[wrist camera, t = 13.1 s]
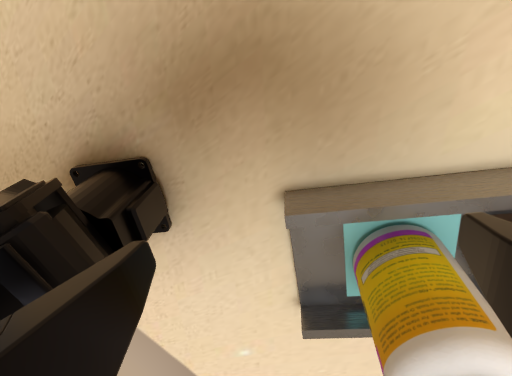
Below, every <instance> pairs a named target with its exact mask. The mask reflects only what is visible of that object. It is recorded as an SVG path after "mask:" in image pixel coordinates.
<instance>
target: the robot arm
mask: <svg viewBox="0 0 512 376" xmlns="http://www.w3.org/2000/svg"><path fill="white" fill-rule="evenodd" d="M140 162H142V163H144V166H142V165H141V164H140ZM76 171H77V172H78V173H79V174H77V172H76ZM70 175H71V177H72V179H73V181H74V183H75V185H76V187H75V188H73V189H72V190H70V191H69V192H67V193H66V192H65V191H64V190H63V188H62V187H61V186H62V184H61V183H60V182H59V180H58V179H57V178H54V179H52V180H50V181H48V182H46V183H45V181H44V180H43V181H41V182H39V183H34V182H31V181H29V180H26V179H23V180H21V181H19V182H17V183H16V184H14V185H12V186H10V187H8V188H6V189H4V190H2V191H0V376H117V374H118V371H119V369H120V367H121V364H122V362H123V359H124V357H125V354H126V352H127V349H128V347H129V345H130V342H131V340H132V337H133V335H134V332H135V330H136V328H137V325H138V323H139V320H140V318H141V315H142V312H143V309H144V306H145V303H146V299H147V296H148V293H149V289H150V286H151V283H152V279H153V276H154V272H155V269H156V261H155V258H154V256H153V253H152V251H151V248H150V246H149V244H148V242H147V241H148V239H149V238H150V236H151V235H152V233H158V232H167V231H168V230H169V229H170V228H171V222H170V219H169V216H168V213H167V212H168V209H167V206H166V203H165V200H164V197H163V194H162V192H161V189H160V186H159V184H158V183H157V182H156V179H155V176H154V173H153V171H152V168H151V165H150V162H149V160H148V159H146V158H144V157H139V158H132V159H124V160H117V161H110V162H102V163H95V164H88V165H80V166H75V167H73V168H72V169H71V170H70ZM163 224H164V225H166V226H167V227H165V226H163ZM458 243H459V247H460V249H461V251H462V253H463V255H464V257H465V259H466V261H467V263H468V265H469V267H470V269H471V271H472V273H473V275H474V277H475V279H476V281H477V283H478V285H479V287H480V289H481V291H482V293H483V295H484V296H485V298H486V300H487V301H488V303H489V305H490V306H491V308H492V309H493V311H494V313H495V314H496V316H497V317H498V319H499V320H500V322H501V323H502V325H503V326H504V328H505V329H506V331H507V332H508V334H509V335H510V337H511V338H512V223H511V222H508V221H506V220H503V219H500V218H497V217H495V216H492V215H489V214H486V213H483V212H474V213H465V214H464V215H463V216H462V218H461V224H460V230H459V237H458Z"/></svg>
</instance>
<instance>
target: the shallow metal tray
mask: <svg viewBox="0 0 512 376" xmlns="http://www.w3.org/2000/svg"><path fill="white" fill-rule="evenodd" d="M474 212H483V213H486V214H489V215H497V214H508V213H512V168H502V169H493V170H483V171H474V172H465V173H455V174H446V175H436V176H427V177H418V178H408V179H399V180H389V181H380V182H371V183H361V184H352V185H342V186H333V187H323V188H314V189H305V190H295V191H286V192H285V222H286V229H290V235H291V242H292V249H293V256H294V263H295V270H296V277H297V283H298V290H299V297H300V304H301V322H302V335H303V339H320V338H362V337H372V333H371V330H370V327H369V323H368V320H367V316H366V312H365V309H364V306H363V302H362V299H361V295H360V292H359V288H358V285H357V281H356V278H355V274H354V270H353V258H354V254H355V252H356V250H357V248H358V246H359V245H360V244H361V242H362V241H363V240H364V239H365V238H366V237H368V236H369V235H370V234H372V233H374V232H375V231H377V230H380V229H382V228H385V227H388V226H393V225H414V226H418V227H422V228H424V229H426V230H428V231H430V232H432V233H433V234H435V235H436V236H437V237H438V238H439V239H440V240H441V241H442V243H443V244H444V245H445V247H446V248H447V249H448V251H449V252H450V253H451V254H452V256H453V257H454V258H455V260H456V261H457V262H458V264H459V265H460V266H461V268H462V269H463V270H464V272H465V273H466V274H467V276H468V277H469V278H470V280H471V281H472V282H473V284H474V285H475V286H476V288H477V289H478V290H479V292H480V293H481V294H482V296H483V297H484V298H485V296H484V295H483V293H482V291H481V289H480V287H479V285H478V283H477V281H476V279H475V277H474V275H473V273H472V271H471V269H470V267H469V265H468V263H467V261H466V259H465V257H464V255H463V253H462V251H461V249H460V247H459V243H458V237H459V230H460V224H461V218H462V216H463V215H464V214H465V213H474ZM485 300H486V298H485ZM486 301H487V300H486ZM487 302H488V301H487ZM488 304H489V303H488ZM490 307H491V306H490Z"/></svg>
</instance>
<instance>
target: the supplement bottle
mask: <svg viewBox="0 0 512 376" xmlns="http://www.w3.org/2000/svg"><path fill="white" fill-rule="evenodd" d="M353 270H354V274H355V278H356V281H357V285H358V288H359V292H360V295H361V299H362V302H363V306H364V309H365V312H366V316H367V320H368V323H369V327H370V330H371V333H372V337H373V340H374V344H375V347H376V351H377V354H378V358H379V361H380V365H381V369H382V372H383V376H512V338H511V337H510V335H509V334H508V332H507V331H506V329H505V328H504V326H503V325H502V323H501V322H500V320H499V319H498V317H497V316H496V314H495V313H494V311H493V309H492V308H491V307H490V305H489V304H488V302H487V301H486V300H485V298H484V297H483V296H482V294H481V293H480V292H479V290H478V289H477V288H476V286H475V285H474V284H473V282H472V281H471V280H470V278H469V277H468V276H467V274H466V273H465V272H464V270H463V269H462V268H461V266H460V265H459V264H458V262H457V261H456V260H455V258H454V257H453V256H452V254H451V253H450V252H449V251H448V249H447V248H446V247H445V245H444V244H443V243H442V241H441V240H440V239H439V238H438V237H437V236H436V235H435V234H433V233H432V232H430V231H428V230H426V229H424V228H422V227H418V226H414V225H393V226H388V227H385V228H382V229H380V230H377V231H375V232H374V233H372V234H370V235H369V236H368V237H366V238H365V239H364V240H363V241H362V242H361V244H360V245H359V246H358V248H357V250H356V252H355V254H354V258H353Z"/></svg>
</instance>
